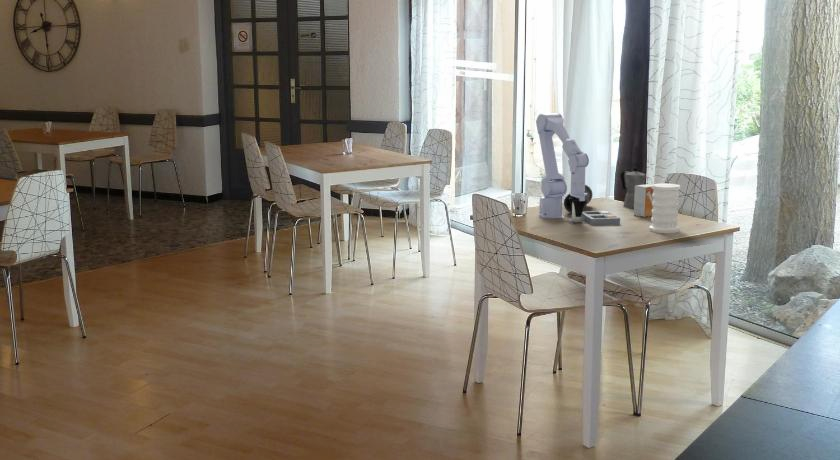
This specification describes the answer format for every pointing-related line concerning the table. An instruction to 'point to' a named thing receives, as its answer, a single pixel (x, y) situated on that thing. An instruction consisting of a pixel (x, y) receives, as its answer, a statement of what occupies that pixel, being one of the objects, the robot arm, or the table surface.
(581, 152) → the robot arm
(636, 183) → the coffeepot
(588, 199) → the muzzle brake
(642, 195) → the small box
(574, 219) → the plug
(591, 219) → the socket board
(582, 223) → the plug mat
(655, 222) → the decorative container
